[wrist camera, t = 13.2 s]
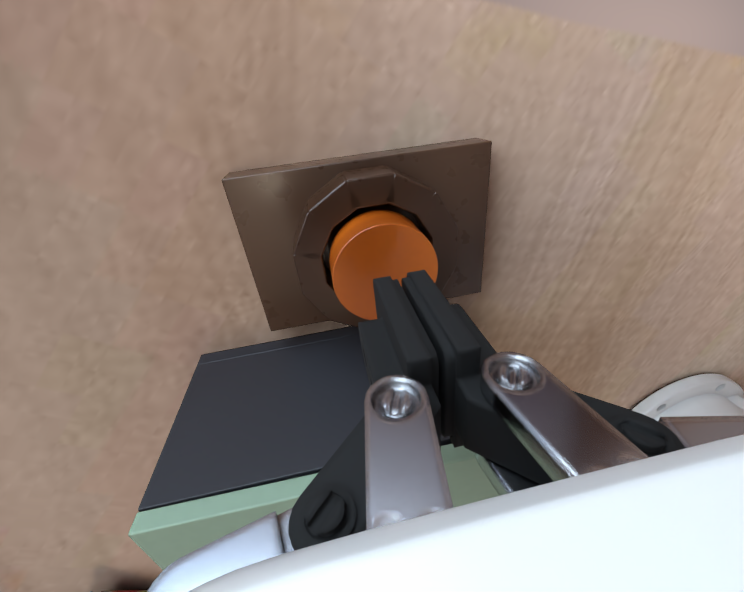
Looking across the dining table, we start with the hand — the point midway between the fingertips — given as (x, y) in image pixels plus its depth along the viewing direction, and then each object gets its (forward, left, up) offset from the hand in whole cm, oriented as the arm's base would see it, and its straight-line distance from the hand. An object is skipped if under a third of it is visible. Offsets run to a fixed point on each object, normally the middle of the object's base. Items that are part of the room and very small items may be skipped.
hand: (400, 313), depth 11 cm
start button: (0, 0, -5) cm, 5 cm away
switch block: (0, 0, -8) cm, 8 cm away
